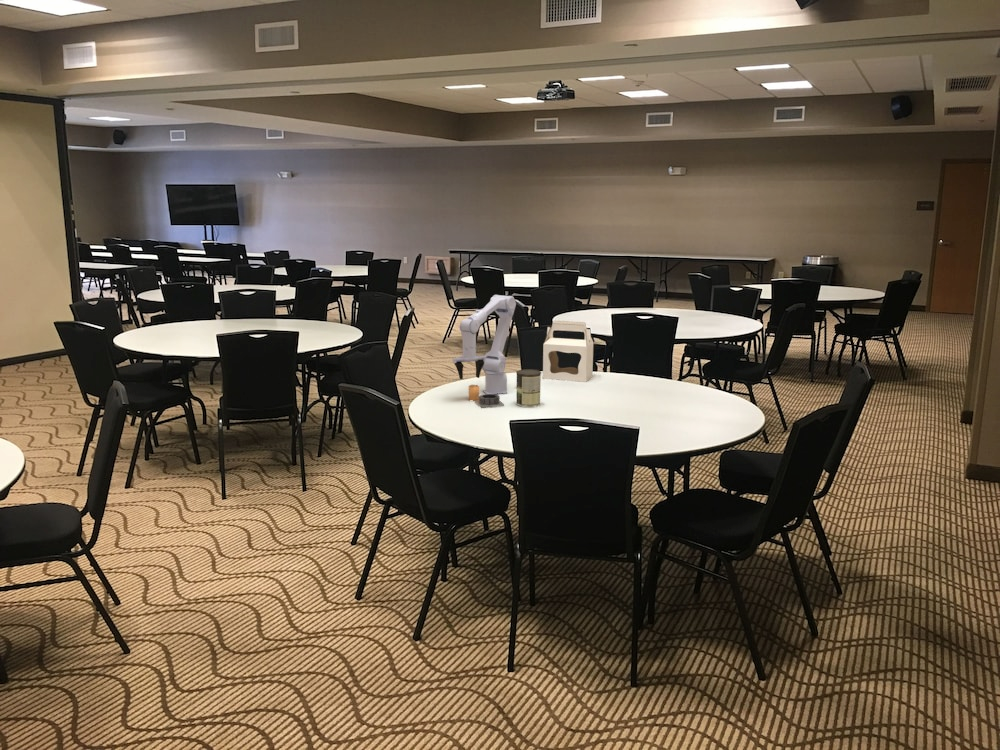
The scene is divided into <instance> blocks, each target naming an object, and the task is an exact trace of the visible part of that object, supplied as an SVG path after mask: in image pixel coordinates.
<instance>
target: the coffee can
mask: <svg viewBox="0 0 1000 750" xmlns="http://www.w3.org/2000/svg"><path fill="white" fill-rule="evenodd" d="M541 374H542V372H541V371H540V370H537V369H532V368H530V369H519V370H517V371H516V403H515V405H516V406H518V405H519V407H522V406H526V407H525V408H534V407H533V406H536V407H538V405H539V406H540V405H541Z"/></svg>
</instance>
